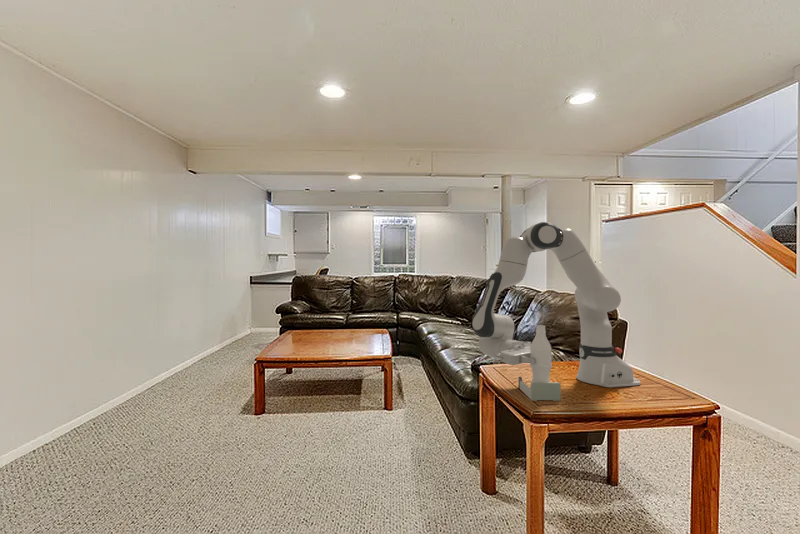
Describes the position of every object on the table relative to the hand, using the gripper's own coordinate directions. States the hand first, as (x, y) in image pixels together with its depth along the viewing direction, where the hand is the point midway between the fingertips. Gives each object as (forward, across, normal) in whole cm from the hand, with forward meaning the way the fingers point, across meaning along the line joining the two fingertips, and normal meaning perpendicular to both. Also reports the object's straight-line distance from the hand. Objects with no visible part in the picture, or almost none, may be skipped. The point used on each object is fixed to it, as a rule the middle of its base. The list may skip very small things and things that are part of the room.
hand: (542, 359), depth 131 cm
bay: (-3, +1, +13) cm, 13 cm away
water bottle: (-1, 0, +13) cm, 13 cm away
